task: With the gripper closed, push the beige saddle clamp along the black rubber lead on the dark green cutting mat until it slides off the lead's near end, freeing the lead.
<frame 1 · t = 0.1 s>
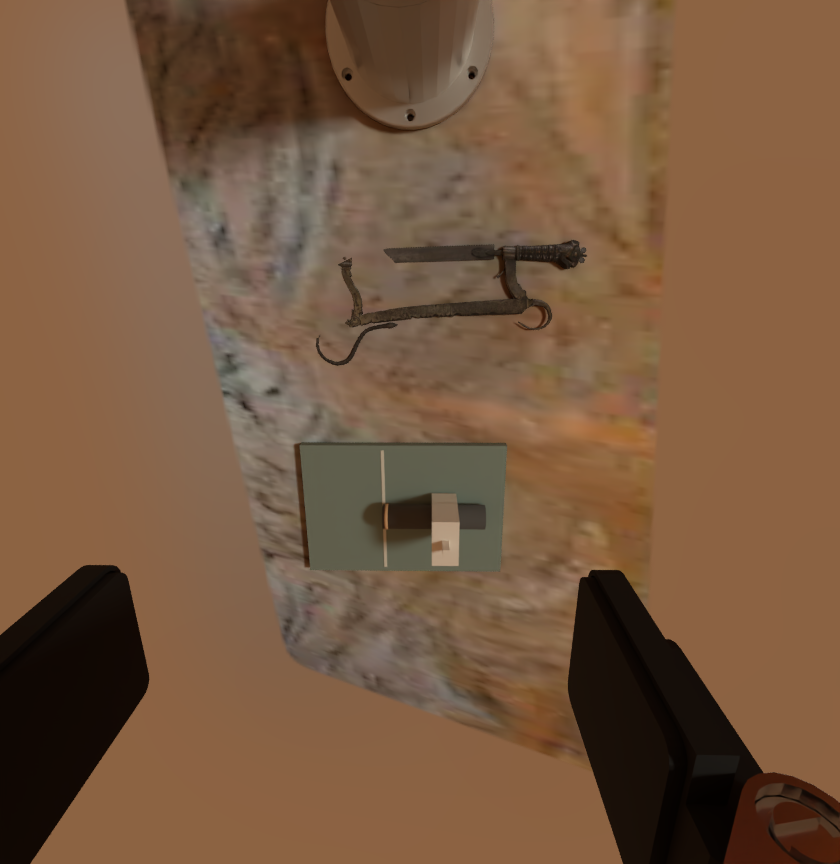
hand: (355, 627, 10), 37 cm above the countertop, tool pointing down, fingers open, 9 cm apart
cutting mat: (404, 507, 50), on the countertop
beige saddle clamp: (444, 531, 45), point 5 cm above the countertop, slide at 0.0 cm
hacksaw: (445, 305, 44), on the countertop
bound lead: (433, 511, 49), resting on cutting mat
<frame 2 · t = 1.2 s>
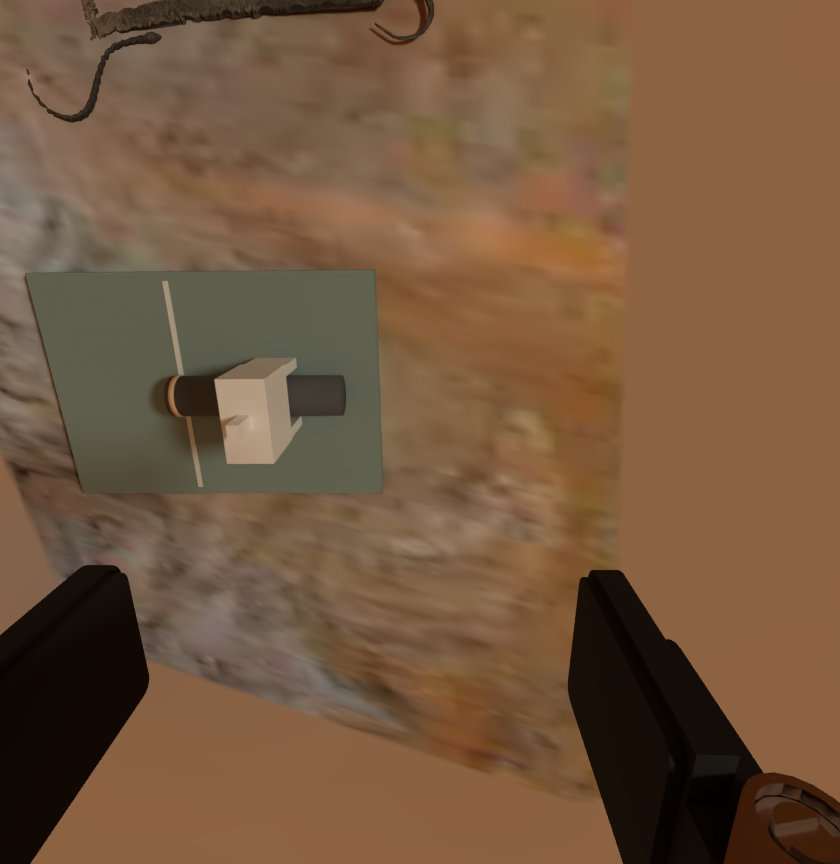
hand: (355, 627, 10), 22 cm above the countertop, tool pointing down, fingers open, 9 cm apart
cutting mat: (221, 387, 31), on the countertop
beige saddle clamp: (259, 409, 26), point 5 cm above the countertop, slide at 0.0 cm
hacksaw: (249, 1, 25), on the countertop
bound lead: (264, 390, 30), resting on cutting mat
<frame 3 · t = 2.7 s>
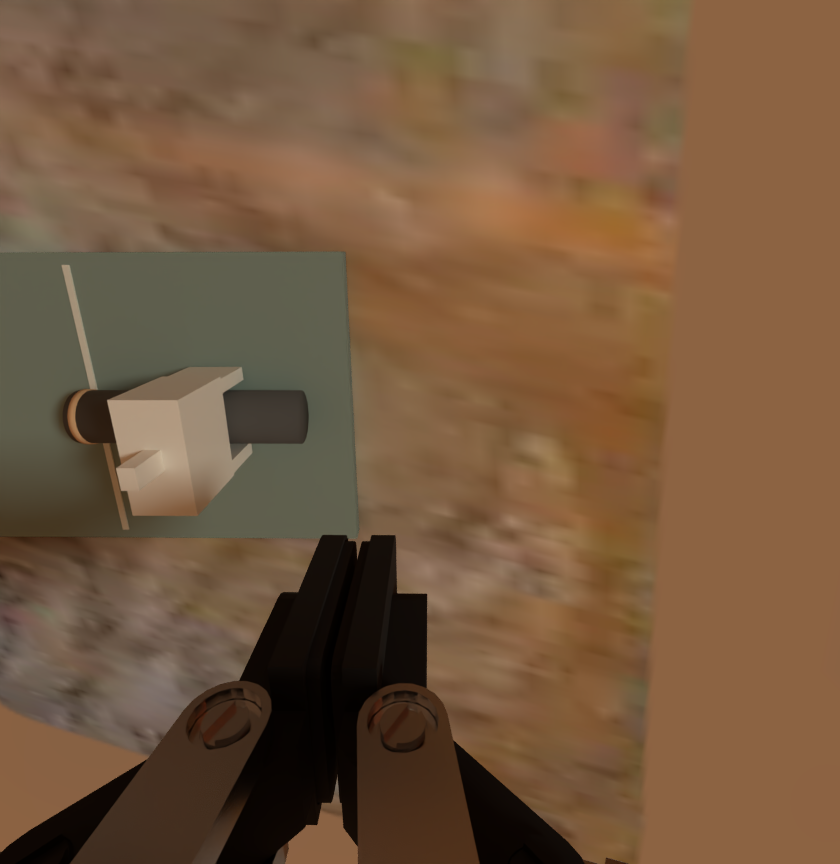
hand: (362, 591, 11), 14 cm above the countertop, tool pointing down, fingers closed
cutting mat: (149, 404, 24), on the countertop
beige saddle clamp: (183, 439, 19), point 5 cm above the countertop, slide at 0.0 cm
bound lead: (203, 409, 23), resting on cutting mat
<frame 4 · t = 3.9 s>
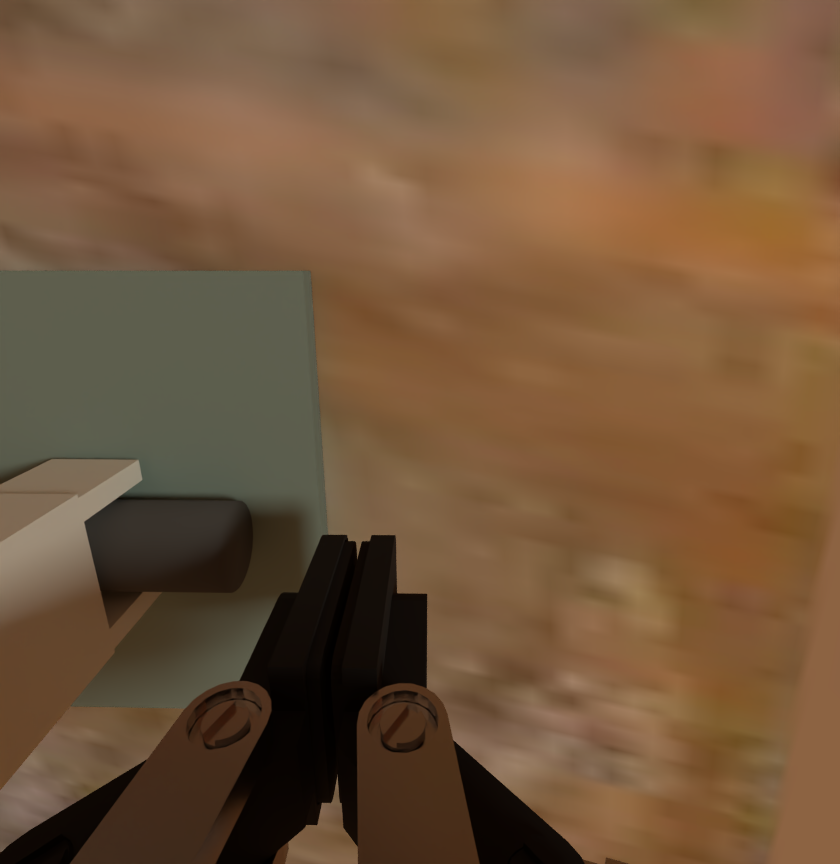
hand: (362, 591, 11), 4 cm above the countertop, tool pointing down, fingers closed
cutting mat: (5, 508, 15), on the countertop
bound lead: (83, 522, 14), resting on cutting mat
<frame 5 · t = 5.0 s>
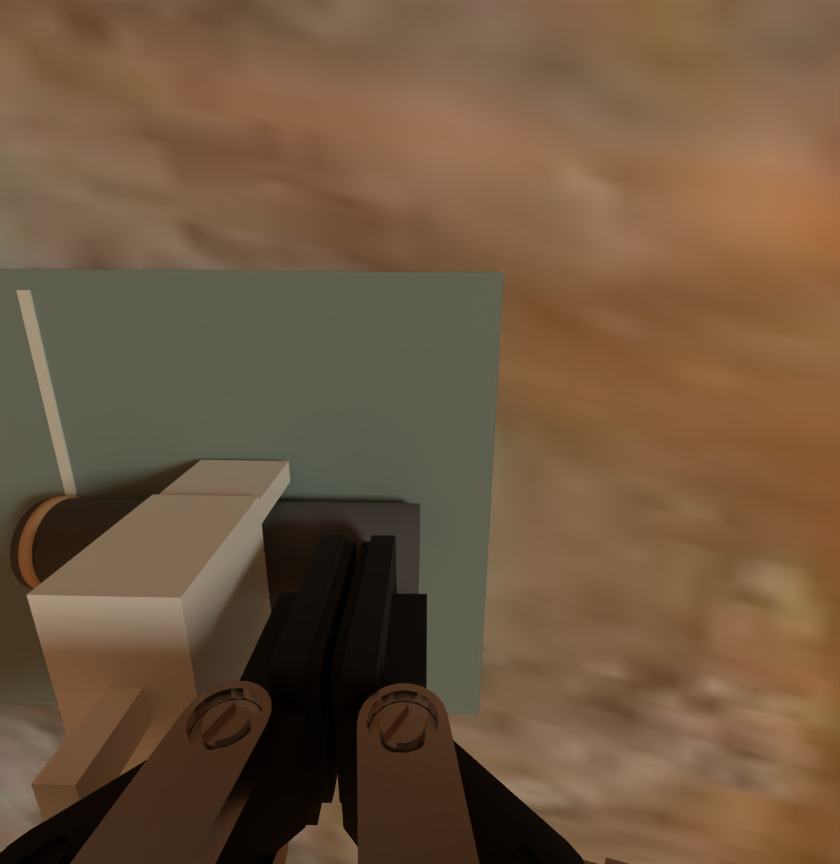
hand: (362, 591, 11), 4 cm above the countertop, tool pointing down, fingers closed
cutting mat: (160, 509, 15), on the countertop
beige saddle clamp: (189, 618, 10), point 5 cm above the countertop, slide at 0.8 cm, touching gripper
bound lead: (248, 523, 14), resting on cutting mat
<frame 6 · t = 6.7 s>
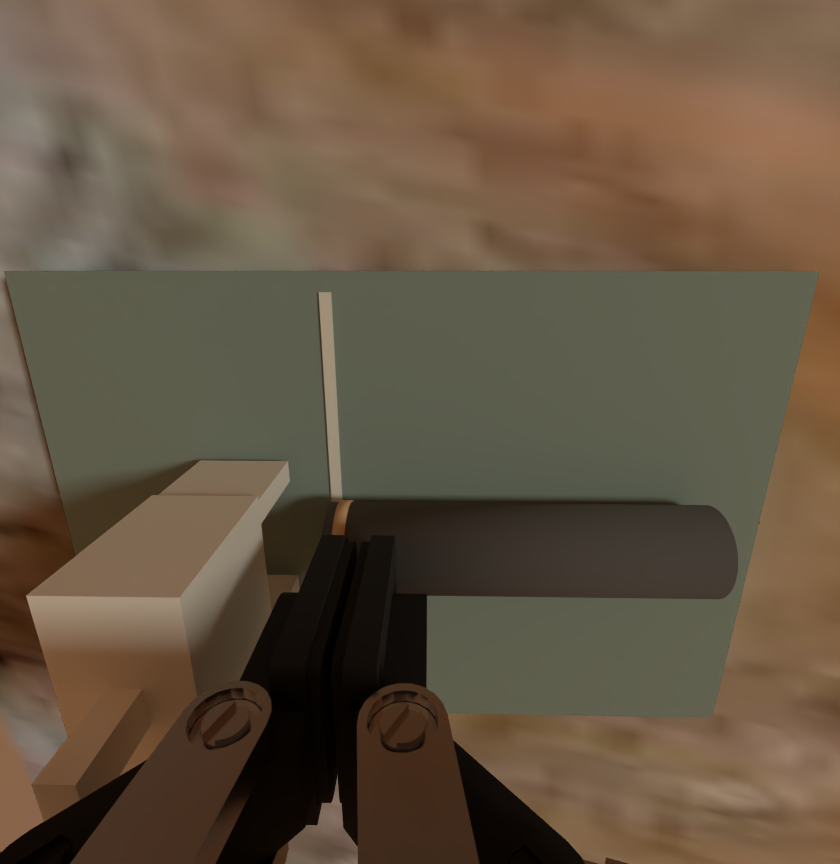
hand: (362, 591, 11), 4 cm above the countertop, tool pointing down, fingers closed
cutting mat: (408, 512, 15), on the countertop
beige saddle clamp: (190, 619, 10), point 5 cm above the countertop, slide at 8.4 cm, touching gripper
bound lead: (511, 526, 14), resting on cutting mat
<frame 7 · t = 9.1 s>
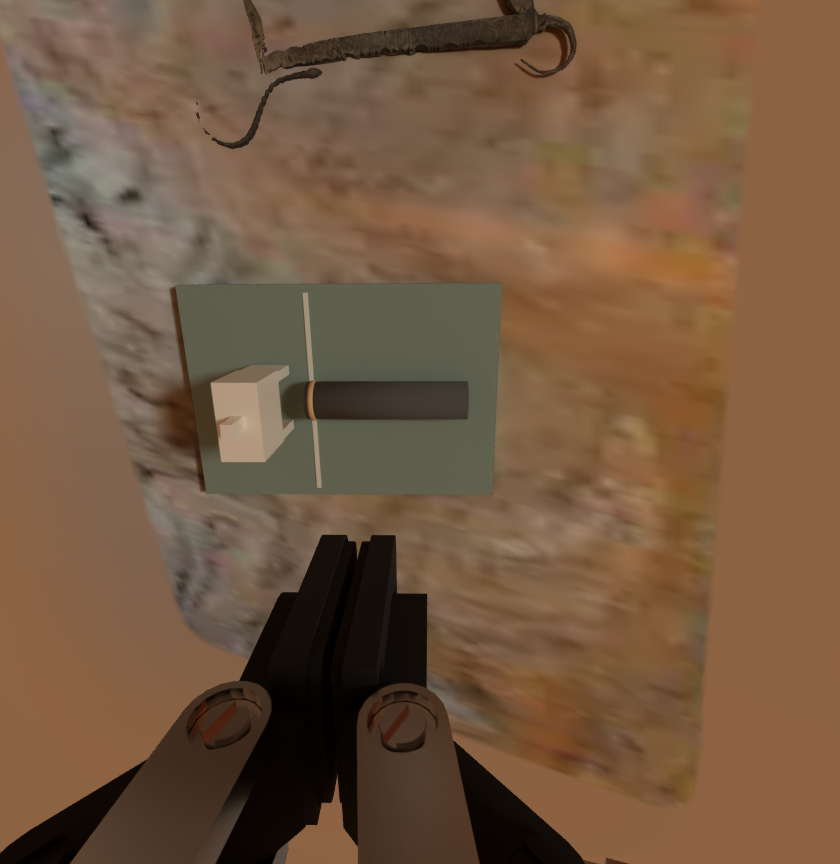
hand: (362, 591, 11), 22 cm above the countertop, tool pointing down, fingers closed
cutting mat: (345, 393, 33), on the countertop
beige saddle clamp: (252, 412, 28), point 5 cm above the countertop, slide at 8.5 cm
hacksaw: (402, 40, 27), on the countertop
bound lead: (389, 396, 32), resting on cutting mat
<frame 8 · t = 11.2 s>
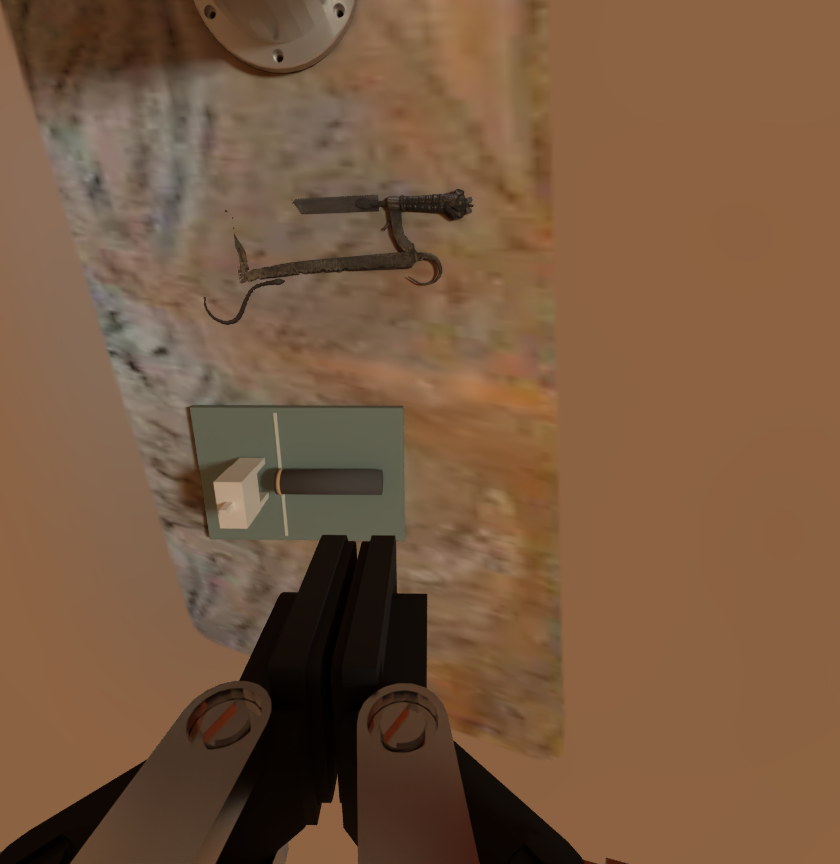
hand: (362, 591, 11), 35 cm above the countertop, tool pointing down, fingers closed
cutting mat: (303, 473, 48), on the countertop
beige saddle clamp: (240, 494, 44), point 5 cm above the countertop, slide at 8.5 cm
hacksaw: (335, 260, 43), on the countertop
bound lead: (332, 477, 48), resting on cutting mat
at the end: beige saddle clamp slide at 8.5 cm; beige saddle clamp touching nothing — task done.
